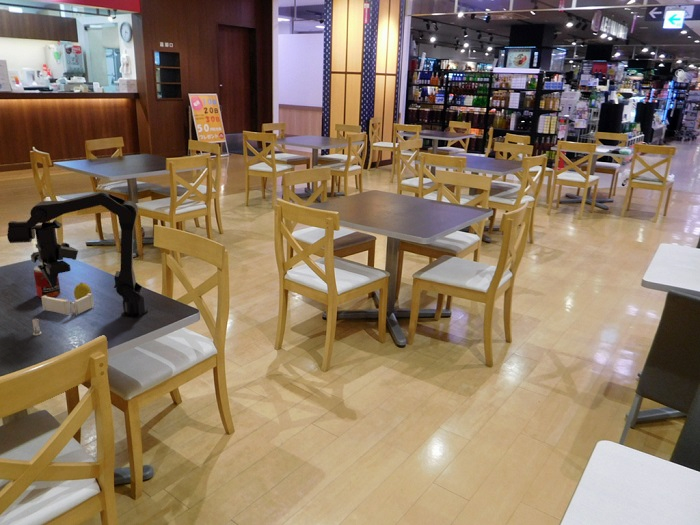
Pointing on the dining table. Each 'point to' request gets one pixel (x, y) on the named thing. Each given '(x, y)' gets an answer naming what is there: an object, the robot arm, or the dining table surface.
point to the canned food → (45, 285)
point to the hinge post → (72, 309)
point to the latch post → (36, 327)
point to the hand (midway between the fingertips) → (53, 286)
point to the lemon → (81, 290)
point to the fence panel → (84, 303)
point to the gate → (55, 305)
